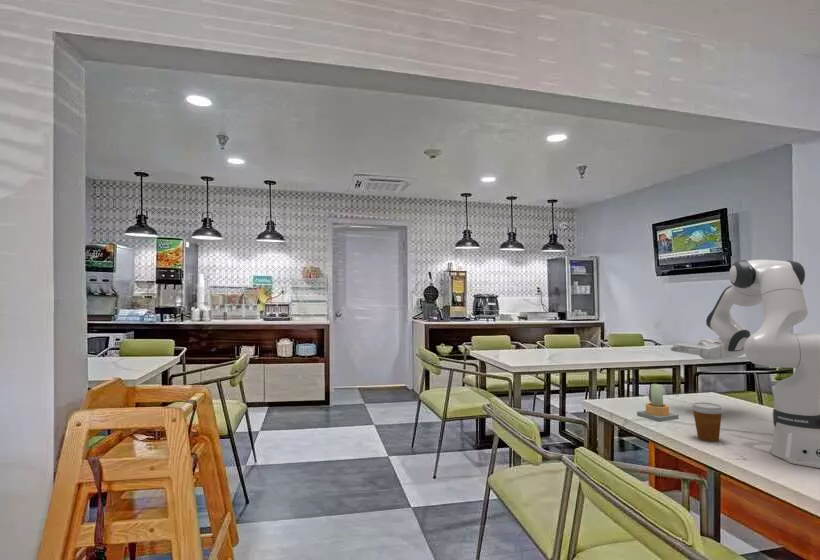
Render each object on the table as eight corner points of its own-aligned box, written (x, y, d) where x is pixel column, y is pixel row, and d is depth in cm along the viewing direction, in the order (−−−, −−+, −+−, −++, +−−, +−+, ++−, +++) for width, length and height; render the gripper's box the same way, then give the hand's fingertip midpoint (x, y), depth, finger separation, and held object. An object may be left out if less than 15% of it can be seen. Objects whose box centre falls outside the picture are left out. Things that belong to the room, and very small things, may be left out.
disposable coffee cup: (697, 441, 157) (696, 407, 158) (689, 434, 166) (687, 401, 167) (728, 444, 154) (727, 409, 155) (718, 435, 163) (717, 402, 164)
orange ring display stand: (678, 418, 187) (678, 406, 187) (659, 421, 183) (658, 409, 183) (656, 412, 197) (655, 401, 197) (637, 415, 193) (636, 403, 194)
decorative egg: (646, 404, 213) (645, 383, 213) (654, 402, 215) (653, 382, 215) (657, 406, 207) (656, 385, 208) (666, 405, 210) (665, 384, 210)
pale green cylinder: (665, 413, 190) (664, 385, 190) (660, 415, 187) (659, 386, 187) (654, 411, 193) (653, 383, 194) (649, 413, 190) (649, 385, 191)
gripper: (689, 339, 206) (662, 340, 204) (727, 344, 186) (697, 345, 183) (689, 353, 206) (662, 354, 203) (727, 359, 185) (698, 360, 183)
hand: (679, 350), depth 193 cm, fingers open, 8 cm apart
